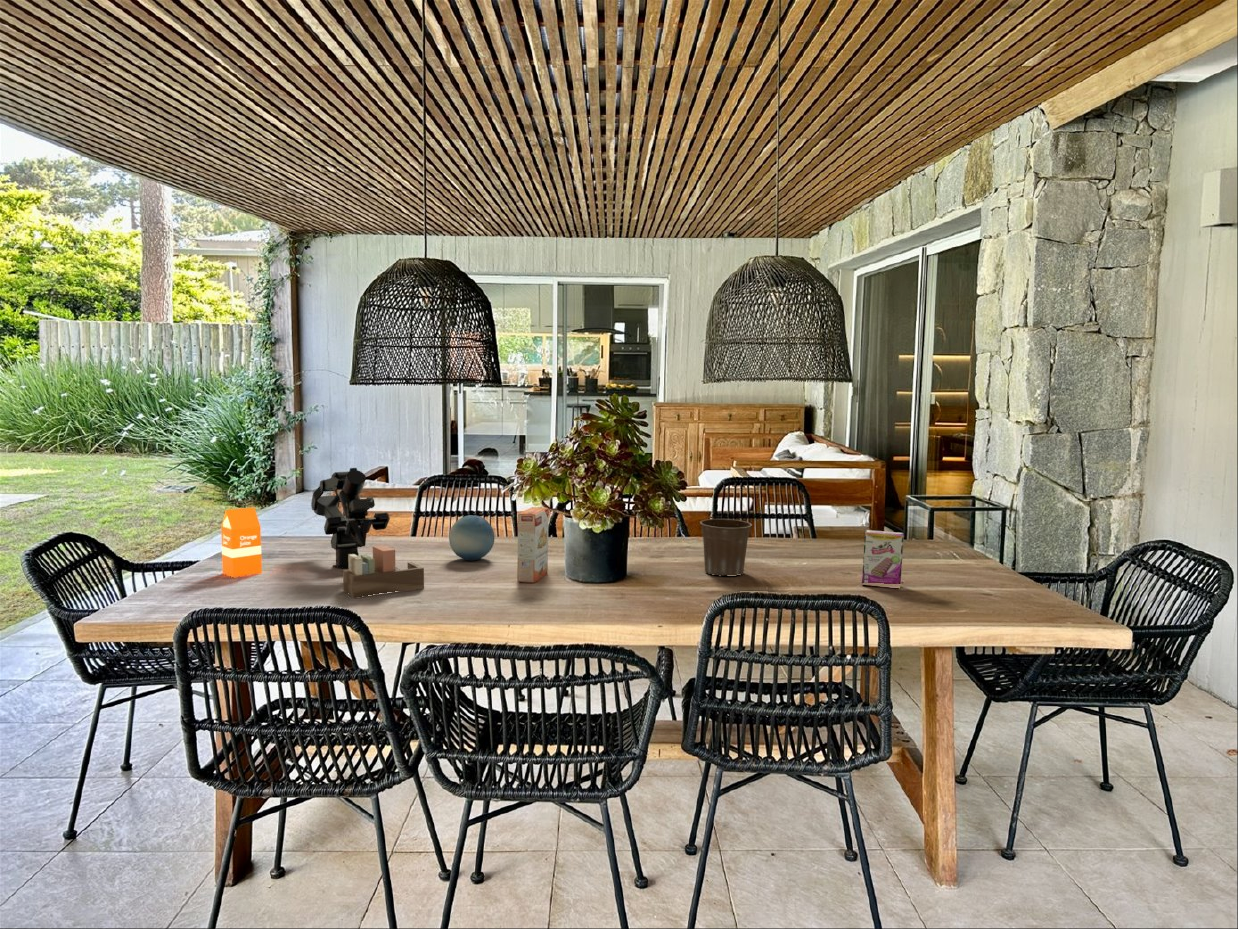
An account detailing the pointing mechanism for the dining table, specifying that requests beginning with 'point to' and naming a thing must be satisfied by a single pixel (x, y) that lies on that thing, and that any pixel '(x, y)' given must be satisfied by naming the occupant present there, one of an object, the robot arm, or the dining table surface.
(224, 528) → the orange juice
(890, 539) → the candy bar box
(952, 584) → the dining table surface
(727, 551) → the plant pot
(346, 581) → the book rack
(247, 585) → the dining table surface
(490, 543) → the decorative ball
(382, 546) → the book
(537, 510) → the cracker box
